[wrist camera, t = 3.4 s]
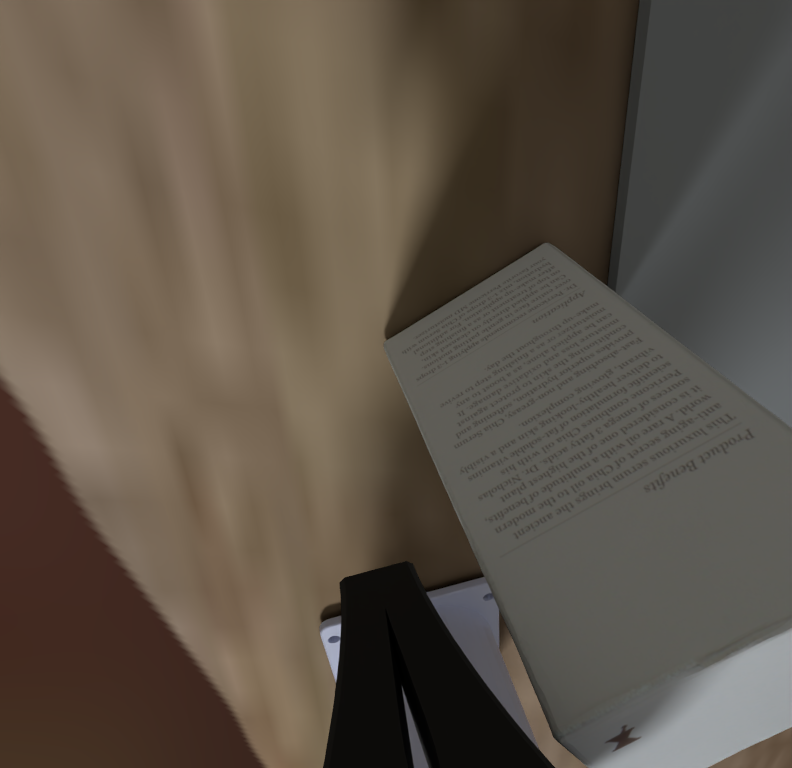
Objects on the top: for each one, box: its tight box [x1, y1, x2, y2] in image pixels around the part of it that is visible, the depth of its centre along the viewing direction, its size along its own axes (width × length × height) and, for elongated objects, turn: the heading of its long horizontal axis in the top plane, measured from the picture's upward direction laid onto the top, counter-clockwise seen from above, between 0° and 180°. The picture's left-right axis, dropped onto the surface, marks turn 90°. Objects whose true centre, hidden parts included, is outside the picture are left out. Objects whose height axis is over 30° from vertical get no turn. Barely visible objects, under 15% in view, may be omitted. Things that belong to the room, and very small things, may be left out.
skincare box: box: [384, 243, 792, 768], centre depth 14 cm, size 6×4×12 cm
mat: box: [607, 0, 792, 428], centre depth 20 cm, size 18×13×1 cm
